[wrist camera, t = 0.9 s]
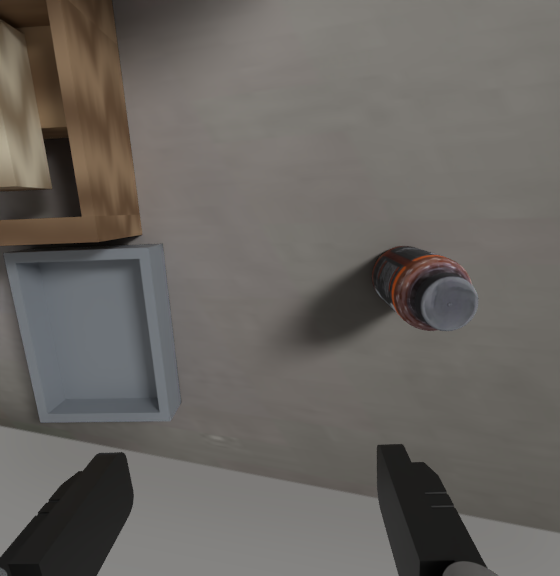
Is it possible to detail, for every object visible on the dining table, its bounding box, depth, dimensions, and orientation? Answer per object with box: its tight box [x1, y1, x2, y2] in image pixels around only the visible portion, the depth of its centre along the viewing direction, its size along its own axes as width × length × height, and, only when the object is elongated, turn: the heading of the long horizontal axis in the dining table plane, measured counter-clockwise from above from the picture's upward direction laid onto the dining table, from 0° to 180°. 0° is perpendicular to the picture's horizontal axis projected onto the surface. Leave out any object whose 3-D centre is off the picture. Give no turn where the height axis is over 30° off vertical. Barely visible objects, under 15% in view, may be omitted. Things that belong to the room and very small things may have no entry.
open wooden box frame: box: [0, 0, 142, 246], centre depth 29 cm, size 21×14×8 cm, turn 2°
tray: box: [3, 244, 181, 423], centre depth 36 cm, size 18×14×4 cm
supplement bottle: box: [372, 246, 478, 331], centre depth 29 cm, size 6×6×11 cm
